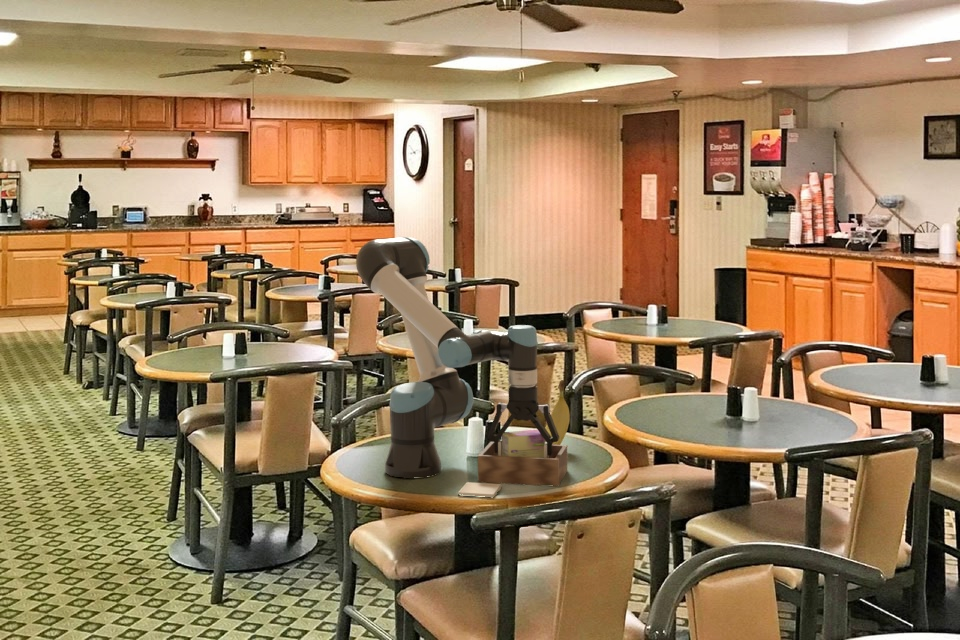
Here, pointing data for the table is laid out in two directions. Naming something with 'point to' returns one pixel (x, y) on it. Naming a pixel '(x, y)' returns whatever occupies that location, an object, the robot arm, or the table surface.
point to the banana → (560, 416)
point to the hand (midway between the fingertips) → (523, 466)
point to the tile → (480, 489)
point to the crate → (522, 467)
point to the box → (523, 444)
